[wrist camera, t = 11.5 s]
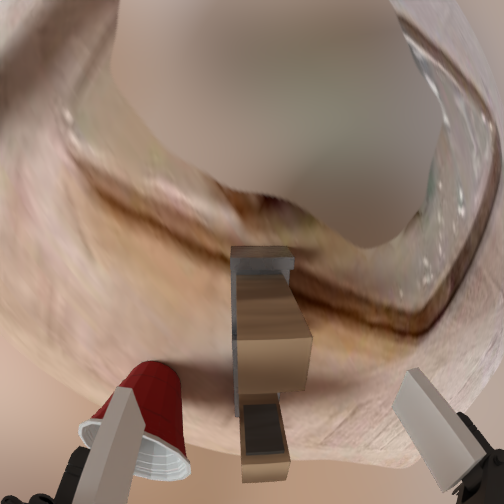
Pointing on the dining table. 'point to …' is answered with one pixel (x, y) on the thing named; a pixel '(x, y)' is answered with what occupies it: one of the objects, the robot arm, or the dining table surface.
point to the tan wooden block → (270, 336)
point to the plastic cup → (152, 422)
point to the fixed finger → (262, 439)
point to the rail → (254, 263)
